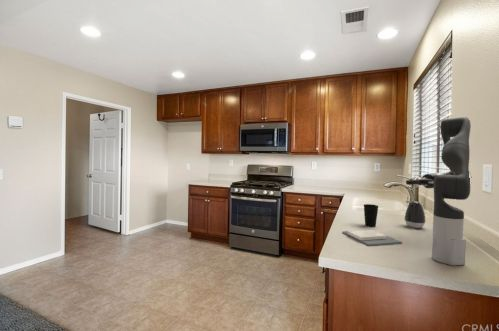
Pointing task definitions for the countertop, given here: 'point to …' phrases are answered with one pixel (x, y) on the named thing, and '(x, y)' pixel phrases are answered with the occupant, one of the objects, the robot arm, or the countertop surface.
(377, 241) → the mat
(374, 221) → the cup
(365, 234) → the tile
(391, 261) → the countertop surface
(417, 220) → the pump dispenser
